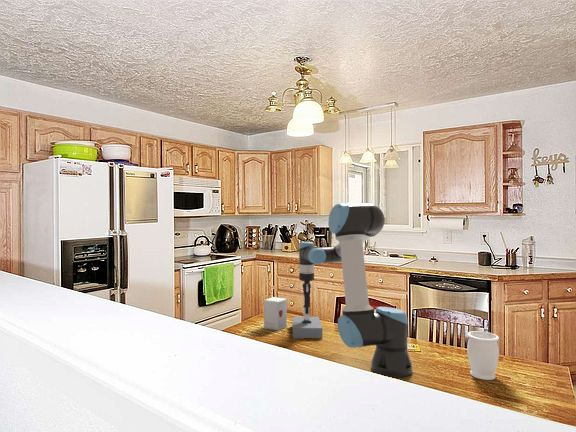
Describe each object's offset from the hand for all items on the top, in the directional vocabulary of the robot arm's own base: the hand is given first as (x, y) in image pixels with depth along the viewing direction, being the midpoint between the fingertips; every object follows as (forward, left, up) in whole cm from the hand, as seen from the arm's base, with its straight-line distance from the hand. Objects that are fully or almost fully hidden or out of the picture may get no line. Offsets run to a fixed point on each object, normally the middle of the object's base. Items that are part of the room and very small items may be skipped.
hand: (306, 318), depth 190 cm
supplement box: (+8, +16, -7) cm, 19 cm away
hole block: (0, 0, -7) cm, 7 cm away
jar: (-52, -62, -7) cm, 81 cm away
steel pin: (0, 0, -4) cm, 4 cm away
